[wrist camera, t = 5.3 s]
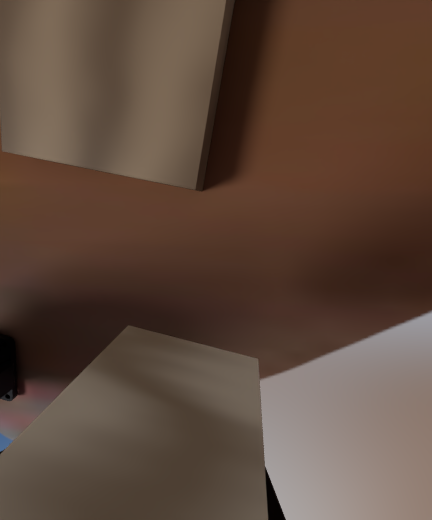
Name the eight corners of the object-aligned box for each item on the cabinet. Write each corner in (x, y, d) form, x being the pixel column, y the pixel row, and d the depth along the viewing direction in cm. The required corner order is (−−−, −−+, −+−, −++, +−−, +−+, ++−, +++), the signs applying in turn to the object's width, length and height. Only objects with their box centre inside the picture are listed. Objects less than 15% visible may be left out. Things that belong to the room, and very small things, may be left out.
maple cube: (117, 424, 10) (-62, 728, 4) (128, 324, 9) (-110, 564, 3) (229, 458, 10) (200, 846, 4) (258, 358, 8) (280, 716, 2)
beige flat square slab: (32, 157, 16) (2, 151, 14) (28, -76, 13) (-12, -127, 11) (202, 191, 15) (195, 189, 13) (244, -53, 12) (243, -104, 10)
